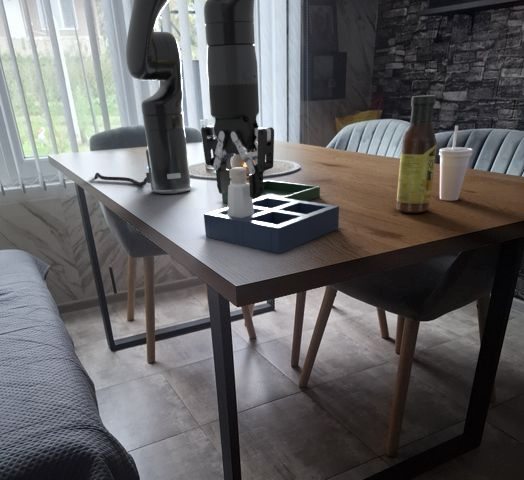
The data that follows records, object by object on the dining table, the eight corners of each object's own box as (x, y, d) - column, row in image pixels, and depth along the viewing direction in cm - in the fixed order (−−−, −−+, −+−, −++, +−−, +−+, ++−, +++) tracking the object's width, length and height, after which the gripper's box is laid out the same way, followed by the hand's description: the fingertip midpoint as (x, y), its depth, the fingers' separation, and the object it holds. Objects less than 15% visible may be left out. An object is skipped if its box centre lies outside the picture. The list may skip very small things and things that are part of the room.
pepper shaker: (263, 232, 85) (260, 166, 80) (248, 240, 81) (244, 171, 76) (236, 229, 87) (232, 164, 82) (220, 237, 83) (215, 170, 78)
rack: (205, 237, 84) (203, 213, 82) (267, 216, 95) (266, 195, 93) (279, 254, 74) (278, 228, 72) (338, 229, 85) (339, 205, 83)
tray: (222, 202, 107) (221, 191, 106) (267, 189, 117) (267, 180, 116) (276, 211, 98) (275, 199, 97) (319, 196, 108) (320, 186, 107)
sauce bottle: (430, 214, 91) (445, 95, 81) (396, 214, 92) (407, 97, 82) (427, 206, 96) (441, 94, 87) (394, 206, 98) (405, 95, 88)
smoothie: (428, 196, 104) (437, 125, 97) (457, 194, 104) (468, 123, 98) (440, 202, 98) (450, 127, 92) (470, 201, 99) (483, 126, 92)
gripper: (285, 79, 71) (287, 195, 79) (217, 82, 79) (225, 187, 87) (251, 81, 66) (257, 204, 74) (182, 84, 74) (194, 194, 83)
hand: (240, 194), depth 81 cm, fingers open, 6 cm apart
